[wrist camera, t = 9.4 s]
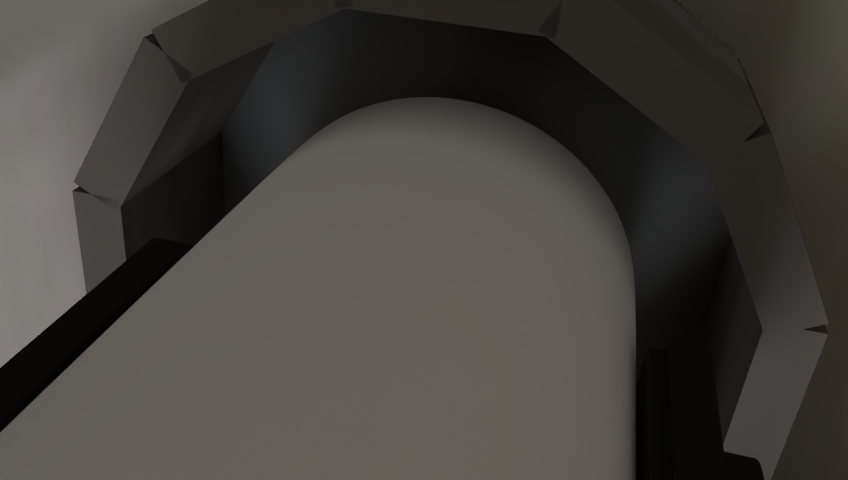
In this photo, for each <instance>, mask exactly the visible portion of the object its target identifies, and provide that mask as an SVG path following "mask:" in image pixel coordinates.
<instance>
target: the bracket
mask: <svg viewBox="0 0 848 480" xmlns="http://www.w3.org/2000/svg"><path fill="white" fill-rule="evenodd" d="M152 32H153V34H150V35H148V36H146V37H144V38H143V40H142V42H141V44H140V47H139V49H138V51H137V53H136V55H135V57H134V59H133V61H132V63H131V65H130V67H129V69H128V71H127V73H126V75H125V77H124V79H123V82H122V84H121V86H120V88H119V90H118V92H117V94H116V96H115V98H114V100H113V102H112V104H111V106H110V108H109V110H108V112H107V114H106V116H105V119H104V121H103V123H102V125H101V127H100V129H99V131H98V133H97V135H96V137H95V139H94V141H93V143H92V145H91V147H90V149H89V151H88V154H87V156H86V158H85V160H84V162H83V164H82V166H81V168H80V170H79V172H78V174H77V176H76V178H75V180H74V182H75V183H76V184H77V185H79V187H78V188H76V189H75V190H73V198H74V205H75V213H76V220H77V227H78V234H79V241H80V249H81V256H82V263H83V270H84V277H85V284H86V292H87V294H88V293H89V292H90V291H91V290H92V289H93V288H95V287H96V286H97V285H98V284H99V283H101V282H102V281H103V280H104V279H105V278H106V277H108V276H109V275H110V274H111V273H112V272H113V271H115V270H116V269H117V268H118V267H119V266H120V265H122V264H123V263H124V262H125V261H126V260H127V259H129V258H130V257H131V256H132V255H133V254H135V253H136V252H137V251H138V250H139V249H140V248H142V247H143V246H144V245H145V244H146V243H147V242H149V241H150V240H152V239H153V238H162V239H167V240H172V241H177V242H182V243H187V244H192V245H193V246H195V245H196V244H197V243H198V242H199V241H200V240H201V239H202V238H203V237H204V236H205V235H206V234H207V233H209V232H210V231H211V230H212V229H213V228H214V227H215V226H216V225H217V224H218V223H219V222H220V221H221V220H222V219H223V218H224V217H225V216H226V215H227V214H228V213H230V212H231V211H232V210H233V209H234V208H235V207H236V206H237V205H238V204H239V203H240V202H241V201H242V200H243V199H244V198H245V197H246V196H247V195H248V194H250V193H251V192H252V191H253V190H254V189H255V188H256V187H257V186H258V185H259V184H260V183H261V182H262V181H263V180H264V179H265V178H266V177H268V176H269V175H270V174H271V173H272V172H273V171H274V170H275V169H276V168H277V167H278V166H279V165H280V164H282V163H283V162H284V161H285V160H286V159H287V158H288V157H289V156H290V155H291V154H292V153H293V152H294V151H296V150H297V149H298V148H299V147H300V146H301V145H302V144H304V143H305V142H306V141H307V140H308V139H309V138H311V137H312V136H313V135H314V134H316V133H317V132H319V131H320V130H321V129H323V128H324V127H326V126H327V125H329V124H330V123H332V122H334V121H335V120H337V119H339V118H341V117H343V116H345V115H347V114H349V113H351V112H353V111H356V110H358V109H361V108H364V107H367V106H370V105H373V104H377V103H380V102H385V101H390V100H395V99H402V98H413V97H441V98H451V99H458V100H464V101H470V102H474V103H478V104H482V105H486V106H489V107H492V108H495V109H498V110H501V111H504V112H506V113H509V114H511V115H513V116H516V117H518V118H520V119H522V120H524V121H526V122H528V123H530V124H532V125H533V126H535V127H537V128H539V129H540V130H542V131H543V132H545V133H546V134H548V135H549V136H551V137H552V138H554V139H555V140H556V141H558V142H559V143H560V144H562V145H563V146H564V147H565V148H567V149H568V150H569V151H570V152H571V153H572V154H573V155H574V156H575V157H577V158H578V159H579V160H580V161H581V162H582V163H583V165H584V166H585V167H586V168H587V169H588V170H589V171H590V172H591V173H592V175H593V176H594V177H595V178H596V180H597V181H598V182H599V184H600V185H601V186H602V188H603V189H604V191H605V192H606V194H607V195H608V197H609V199H610V200H611V202H612V204H613V206H614V207H615V209H616V212H617V214H618V216H619V218H620V220H621V223H622V225H623V228H624V230H625V233H626V236H627V240H628V243H629V247H630V252H631V257H632V263H633V270H634V283H635V314H636V388H637V384H638V381H639V377H640V373H641V369H642V366H643V362H644V358H645V354H646V351H647V349H648V347H649V346H650V347H655V348H660V349H662V348H663V345H664V343H665V341H666V340H667V339H670V340H675V341H680V342H685V343H690V344H695V345H700V346H705V347H708V348H710V351H711V357H712V365H713V372H714V380H715V388H716V395H717V403H718V410H719V418H720V426H721V433H722V441H723V448H724V451H725V452H729V453H734V454H738V455H743V456H747V457H752V458H756V459H757V460H758V461H759V462H760V465H761V468H762V471H763V476H764V480H771V479H772V476H773V474H774V471H775V468H776V466H777V463H778V461H779V458H780V456H781V453H782V451H783V448H784V446H785V443H786V441H787V438H788V436H789V433H790V431H791V428H792V425H793V423H794V420H795V418H796V415H797V413H798V410H799V408H800V405H801V403H802V400H803V398H804V395H805V393H806V390H807V387H808V385H809V382H810V380H811V377H812V375H813V372H814V370H815V367H816V365H817V362H818V360H819V357H820V355H821V352H822V350H823V347H824V344H825V342H826V339H827V337H828V332H827V329H826V327H825V324H829V322H828V319H827V315H826V312H825V309H824V305H823V302H822V299H821V296H820V292H819V289H818V286H817V282H816V279H815V276H814V272H813V269H812V266H811V262H810V259H809V256H808V252H807V249H806V246H805V243H804V239H803V236H802V233H801V229H800V226H799V223H798V219H797V216H796V213H795V209H794V206H793V203H792V199H791V196H790V193H789V190H788V186H787V183H786V180H785V176H784V173H783V170H782V166H781V163H780V160H779V156H778V153H777V150H776V146H775V143H774V140H773V137H772V133H771V131H770V129H769V126H768V124H767V122H766V119H765V117H764V115H763V112H762V110H761V108H760V106H759V103H758V101H757V99H756V96H755V94H754V92H753V89H752V87H751V85H750V83H749V80H748V78H747V76H746V73H745V71H744V69H743V66H742V64H741V62H740V59H737V57H736V55H735V53H734V50H733V49H731V48H730V47H729V46H728V45H727V44H725V43H724V42H723V41H722V40H720V39H719V38H718V37H717V36H715V35H714V34H713V33H712V32H710V31H709V30H708V29H707V28H706V27H704V26H703V25H702V24H701V23H699V22H698V21H697V20H696V19H695V18H694V17H693V16H692V14H690V13H689V12H688V11H687V10H686V9H685V8H684V7H683V6H682V5H681V4H680V3H679V2H678V1H677V0H209V1H207V2H205V3H203V4H201V5H199V6H197V7H195V8H193V9H191V10H189V11H187V12H186V13H184V14H182V15H180V16H178V17H176V18H174V19H172V20H170V21H168V22H166V23H164V24H162V25H160V26H158V27H156V28H154V29H152Z"/></svg>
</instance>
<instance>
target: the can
mask: <svg viewBox="0 0 848 480" xmlns="http://www.w3.org/2000/svg"><path fill="white" fill-rule="evenodd" d="M0 480H636V314H635V283H634V270H633V263H632V257H631V252H630V247H629V243H628V240H627V236H626V233H625V230H624V228H623V225H622V223H621V220H620V218H619V216H618V214H617V212H616V209H615V207H614V206H613V204H612V202H611V200H610V199H609V197H608V195H607V194H606V192H605V191H604V189H603V188H602V186H601V185H600V184H599V182H598V181H597V180H596V178H595V177H594V176H593V175H592V173H591V172H590V171H589V170H588V169H587V168H586V167H585V166H584V165H583V163H582V162H581V161H580V160H579V159H578V158H577V157H575V156H574V155H573V154H572V153H571V152H570V151H569V150H568V149H567V148H565V147H564V146H563V145H562V144H560V143H559V142H558V141H556V140H555V139H554V138H552V137H551V136H549V135H548V134H546V133H545V132H543V131H542V130H540V129H539V128H537V127H535V126H533V125H532V124H530V123H528V122H526V121H524V120H522V119H520V118H518V117H516V116H513V115H511V114H509V113H506V112H504V111H501V110H498V109H495V108H492V107H489V106H486V105H482V104H478V103H474V102H470V101H464V100H458V99H451V98H441V97H413V98H402V99H395V100H390V101H385V102H380V103H377V104H373V105H370V106H367V107H364V108H361V109H358V110H356V111H353V112H351V113H349V114H347V115H345V116H343V117H341V118H339V119H337V120H335V121H334V122H332V123H330V124H329V125H327V126H326V127H324V128H323V129H321V130H320V131H319V132H317V133H316V134H314V135H313V136H312V137H311V138H309V139H308V140H307V141H306V142H305V143H304V144H302V145H301V146H300V147H299V148H298V149H297V150H296V151H294V152H293V153H292V154H291V155H290V156H289V157H288V158H287V159H286V160H285V161H284V162H283V163H282V164H280V165H279V166H278V167H277V168H276V169H275V170H274V171H273V172H272V173H271V174H270V175H269V176H268V177H266V178H265V179H264V180H263V181H262V182H261V183H260V184H259V185H258V186H257V187H256V188H255V189H254V190H253V191H252V192H251V193H250V194H248V195H247V196H246V197H245V198H244V199H243V200H242V201H241V202H240V203H239V204H238V205H237V206H236V207H235V208H234V209H233V210H232V211H231V212H230V213H228V214H227V215H226V216H225V217H224V218H223V219H222V220H221V221H220V222H219V223H218V224H217V225H216V226H215V227H214V228H213V229H212V230H211V231H210V232H209V233H207V234H206V235H205V236H204V237H203V238H202V239H201V240H200V241H199V242H198V243H197V244H196V245H195V246H194V247H193V248H192V249H191V250H190V251H189V252H188V253H187V254H186V255H184V256H183V257H182V258H181V259H180V260H179V261H178V262H177V263H176V264H175V265H174V266H173V267H172V268H171V269H170V270H169V271H168V272H167V273H166V274H165V275H164V276H163V277H161V278H160V279H159V280H158V281H157V282H156V283H155V284H154V285H153V286H152V287H151V288H150V289H149V290H148V291H147V292H146V293H145V294H144V295H143V296H142V297H141V298H140V299H138V300H137V301H136V302H135V303H134V304H133V305H132V306H131V307H130V308H129V309H128V310H127V311H126V312H125V313H124V314H123V315H122V316H121V317H120V318H119V319H118V320H117V321H116V322H115V323H114V324H112V325H111V326H110V327H109V328H108V329H107V330H106V331H105V332H104V333H103V334H102V335H101V336H100V337H99V338H98V339H97V340H96V341H95V342H94V343H93V344H92V345H91V346H90V347H89V348H88V349H86V350H85V351H84V352H83V353H82V354H81V355H80V356H79V357H78V358H77V359H76V360H75V361H74V362H73V363H72V364H71V365H70V366H69V367H68V368H67V369H66V370H65V371H64V372H63V373H62V374H60V375H59V376H58V377H57V378H56V379H55V380H54V381H53V382H52V383H51V384H50V385H49V386H48V387H47V388H46V389H45V390H44V391H43V392H42V393H41V394H40V395H39V396H38V397H37V398H36V399H34V400H33V401H32V402H31V403H30V404H29V405H28V406H27V407H26V408H25V409H24V410H23V411H22V412H21V413H20V414H19V415H18V416H17V417H16V418H15V419H14V420H13V421H12V422H11V423H10V424H9V425H8V426H7V427H6V428H4V429H3V430H2V431H1V432H0Z"/></svg>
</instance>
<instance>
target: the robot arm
mask: <svg viewBox="0 0 848 480" xmlns="http://www.w3.org/2000/svg"><path fill="white" fill-rule="evenodd" d="M193 247H194V246H193V245H192V244H187V243H182V242H177V241H172V240H167V239H162V238H153V239H152V240H150V241H149V242H147V243H146V244H145V245H144V246H143V247H142V248H140V249H139V250H138V251H137V252H136V253H135V254H133V255H132V256H131V257H130V258H129V259H127V260H126V261H125V262H124V263H123V264H122V265H120V266H119V267H118V268H117V269H116V270H115V271H113V272H112V273H111V274H110V275H109V276H108V277H106V278H105V279H104V280H103V281H102V282H101V283H99V284H98V285H97V286H96V287H95V288H93V289H92V290H91V291H90V292H89V293H88V294H86V295H85V296H84V297H83V298H82V299H81V300H79V301H78V302H77V303H76V304H75V305H74V306H72V307H71V308H70V309H69V310H68V311H67V312H65V313H64V314H63V315H62V316H61V317H60V318H58V319H57V320H56V321H55V322H54V323H52V324H51V325H50V326H49V327H48V328H47V329H45V330H44V331H43V332H42V333H41V334H40V335H38V336H37V337H36V338H35V339H34V340H33V341H31V342H30V343H29V344H28V345H27V346H26V347H24V348H23V349H22V350H21V351H20V352H18V353H17V354H16V355H15V356H14V357H13V358H11V359H10V360H9V361H8V362H7V363H6V364H4V365H3V366H2V367H1V368H0V432H1V431H2V430H3V429H4V428H6V427H7V426H8V425H9V424H10V423H11V422H12V421H13V420H14V419H15V418H16V417H17V416H18V415H19V414H20V413H21V412H22V411H23V410H24V409H25V408H26V407H27V406H28V405H29V404H30V403H31V402H32V401H33V400H34V399H36V398H37V397H38V396H39V395H40V394H41V393H42V392H43V391H44V390H45V389H46V388H47V387H48V386H49V385H50V384H51V383H52V382H53V381H54V380H55V379H56V378H57V377H58V376H59V375H60V374H62V373H63V372H64V371H65V370H66V369H67V368H68V367H69V366H70V365H71V364H72V363H73V362H74V361H75V360H76V359H77V358H78V357H79V356H80V355H81V354H82V353H83V352H84V351H85V350H86V349H88V348H89V347H90V346H91V345H92V344H93V343H94V342H95V341H96V340H97V339H98V338H99V337H100V336H101V335H102V334H103V333H104V332H105V331H106V330H107V329H108V328H109V327H110V326H111V325H112V324H114V323H115V322H116V321H117V320H118V319H119V318H120V317H121V316H122V315H123V314H124V313H125V312H126V311H127V310H128V309H129V308H130V307H131V306H132V305H133V304H134V303H135V302H136V301H137V300H138V299H140V298H141V297H142V296H143V295H144V294H145V293H146V292H147V291H148V290H149V289H150V288H151V287H152V286H153V285H154V284H155V283H156V282H157V281H158V280H159V279H160V278H161V277H163V276H164V275H165V274H166V273H167V272H168V271H169V270H170V269H171V268H172V267H173V266H174V265H175V264H176V263H177V262H178V261H179V260H180V259H181V258H182V257H183V256H184V255H186V254H187V253H188V252H189V251H190V250H191V249H192V248H193ZM636 480H764V476H763V471H762V468H761V465H760V462H759V461H758V460H757V459H756V458H752V457H747V456H743V455H738V454H734V453H729V452H725V451H724V448H723V441H722V433H721V426H720V418H719V410H718V403H717V395H716V388H715V380H714V372H713V365H712V357H711V351H710V348H708V347H705V346H700V345H695V344H690V343H685V342H680V341H675V340H670V339H667V340H666V341H665V343H664V345H663V348H662V349H660V348H655V347H650V346H649V347H648V349H647V351H646V354H645V358H644V362H643V366H642V369H641V373H640V377H639V381H638V384H637V388H636Z"/></svg>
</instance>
